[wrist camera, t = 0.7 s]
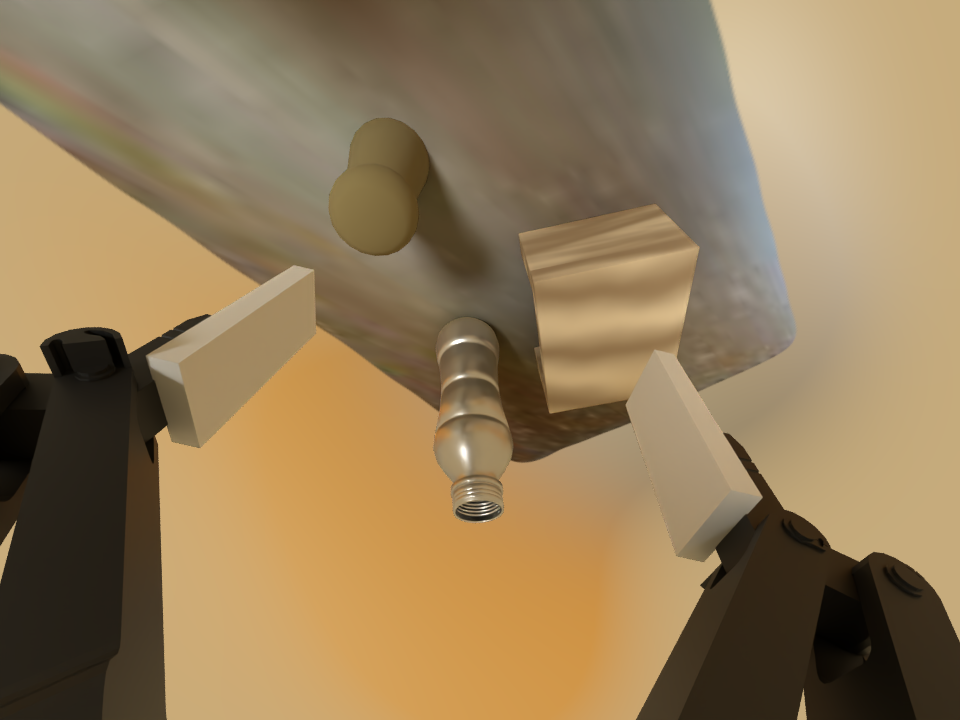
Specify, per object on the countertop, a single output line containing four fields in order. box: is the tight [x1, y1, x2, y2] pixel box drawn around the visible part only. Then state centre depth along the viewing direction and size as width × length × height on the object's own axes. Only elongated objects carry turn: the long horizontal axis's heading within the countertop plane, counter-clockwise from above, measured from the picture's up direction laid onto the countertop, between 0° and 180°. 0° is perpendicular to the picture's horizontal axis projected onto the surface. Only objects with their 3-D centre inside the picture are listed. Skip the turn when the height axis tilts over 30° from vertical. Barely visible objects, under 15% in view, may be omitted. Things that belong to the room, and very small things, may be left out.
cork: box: [329, 118, 429, 256], centre depth 26 cm, size 6×6×11 cm
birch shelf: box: [519, 204, 699, 413], centre depth 37 cm, size 16×12×8 cm
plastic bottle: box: [434, 317, 513, 523], centre depth 35 cm, size 6×7×20 cm
